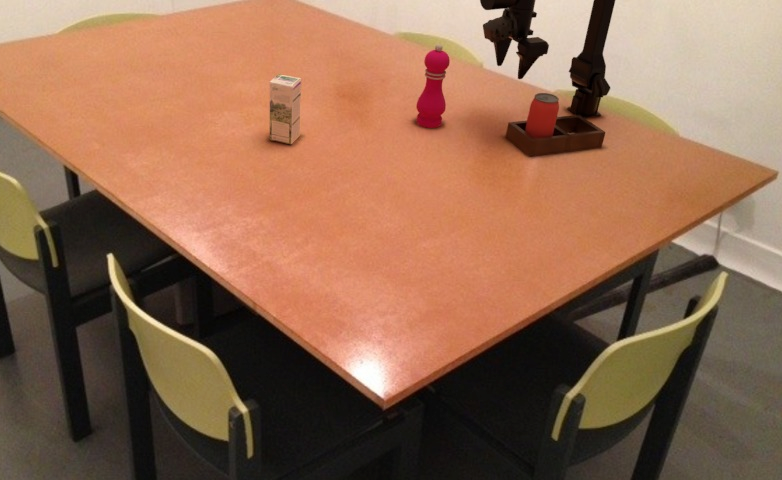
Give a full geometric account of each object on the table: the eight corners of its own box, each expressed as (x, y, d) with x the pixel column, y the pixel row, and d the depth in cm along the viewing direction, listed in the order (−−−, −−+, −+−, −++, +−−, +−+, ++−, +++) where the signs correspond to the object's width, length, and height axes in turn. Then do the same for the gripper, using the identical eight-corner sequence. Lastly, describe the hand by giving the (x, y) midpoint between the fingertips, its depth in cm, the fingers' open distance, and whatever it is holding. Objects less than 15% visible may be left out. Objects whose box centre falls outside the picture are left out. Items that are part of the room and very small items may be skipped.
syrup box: (300, 136, 183) (302, 76, 175) (291, 145, 179) (292, 85, 170) (278, 131, 185) (279, 72, 176) (268, 141, 180) (268, 81, 172)
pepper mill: (441, 130, 190) (453, 50, 179) (412, 126, 191) (422, 47, 180) (444, 119, 196) (455, 41, 185) (416, 115, 197) (425, 37, 186)
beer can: (519, 138, 189) (529, 91, 182) (545, 138, 190) (556, 92, 183) (527, 150, 184) (537, 102, 177) (553, 150, 184) (564, 102, 177)
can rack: (575, 129, 196) (578, 114, 193) (601, 147, 187) (605, 132, 185) (505, 137, 189) (508, 122, 187) (529, 156, 181) (532, 140, 178)
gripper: (470, -3, 181) (461, 62, 190) (513, 20, 167) (501, 89, 176) (510, -6, 185) (499, 58, 194) (556, 17, 171) (542, 84, 180)
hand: (509, 72), depth 186 cm, fingers open, 9 cm apart
